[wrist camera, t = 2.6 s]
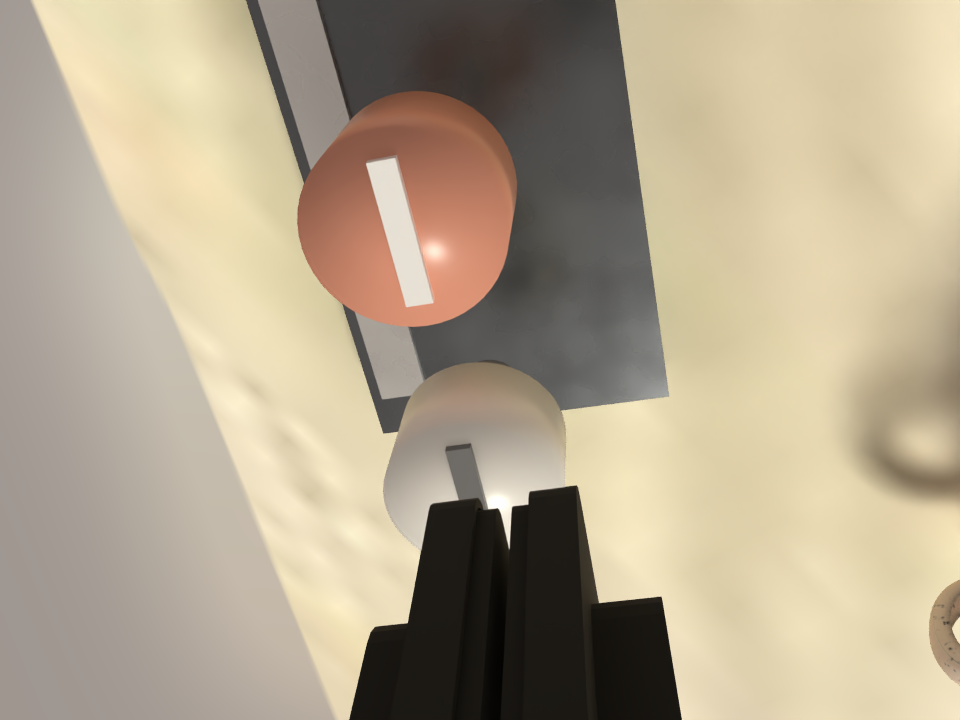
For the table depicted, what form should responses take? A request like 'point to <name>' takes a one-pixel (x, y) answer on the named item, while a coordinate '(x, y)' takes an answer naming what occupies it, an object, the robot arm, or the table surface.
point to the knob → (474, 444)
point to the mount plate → (539, 172)
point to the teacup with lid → (946, 631)
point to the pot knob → (410, 210)
